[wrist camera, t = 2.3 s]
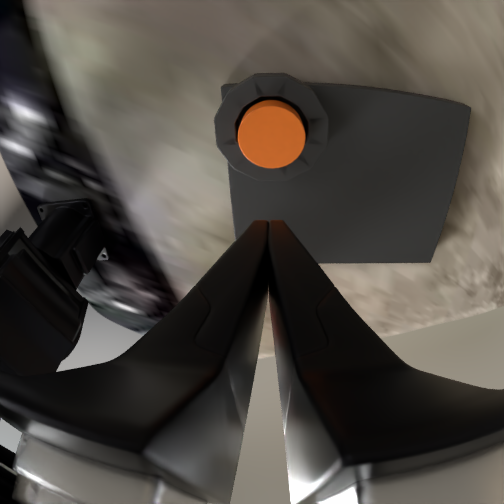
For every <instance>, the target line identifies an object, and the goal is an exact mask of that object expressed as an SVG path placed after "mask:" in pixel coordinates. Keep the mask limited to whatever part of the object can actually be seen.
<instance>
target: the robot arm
mask: <svg viewBox="0 0 504 504" xmlns="http://www.w3.org/2000/svg"><path fill="white" fill-rule="evenodd" d="M85 204H87V206H86V205H85ZM38 211H39V214H40V216H41V218H42V223H41V224H40V225H39V226H38V227H37V228H36V230H35V231H34V232H33V233H32V234H31V235H30V237H29V238H27V236H26V235H25V234H24V231H23V230H22V228H19V229H18V230H17V231H16V232H14V231H13V232H11V231H9V230H6V231H5V232H4V233H3V234H2V235H1V236H0V420H1V418H2V419H3V420H5V421H6V422H8V423H9V424H10V425H12V426H13V427H14V428H16V429H18V430H19V431H20V432H22V435H21V438H20V441H19V445H18V448H17V451H16V454H15V453H14V452H12V451H10V450H8V449H7V448H5V447H3V446H1V445H0V504H207V503H213V504H230V500H231V495H232V490H233V485H234V480H235V475H236V471H237V466H238V460H239V455H240V450H241V445H242V440H243V432H244V428H245V424H246V419H247V413H248V407H249V403H250V397H251V391H252V386H253V381H254V375H255V369H256V364H257V358H258V352H259V347H260V341H261V335H262V329H263V323H264V317H265V311H266V305H267V299H268V286H269V303H270V311H271V320H272V329H273V337H274V346H275V355H276V364H277V373H278V382H279V391H280V400H281V409H282V418H283V428H284V438H285V448H286V457H287V467H288V476H289V487H290V498H291V504H504V389H502V390H495V389H486V388H481V387H477V386H473V385H469V384H466V383H462V382H459V381H455V380H451V379H448V378H444V377H441V376H437V375H434V374H430V373H427V372H423V371H420V370H417V369H415V368H413V367H411V366H409V365H408V364H406V363H405V362H404V361H402V360H401V359H400V358H399V357H398V356H397V355H396V354H395V353H394V352H393V351H392V350H391V349H390V348H389V347H388V346H387V345H386V344H385V343H384V342H383V341H382V340H381V338H380V337H379V336H378V335H377V334H376V333H375V332H374V331H373V330H372V329H371V328H370V327H369V326H368V325H367V324H366V323H365V322H364V321H363V320H362V318H361V317H360V316H359V315H358V314H357V313H356V312H355V311H354V310H353V309H352V307H351V306H350V305H349V304H348V302H347V301H346V300H345V299H344V297H343V296H342V295H341V294H340V292H339V291H338V289H337V288H336V287H334V284H333V283H332V282H331V280H330V279H329V278H328V276H327V275H326V274H325V273H324V271H323V270H322V269H321V267H320V266H319V265H318V263H317V262H316V261H315V260H314V258H313V257H312V256H311V254H310V253H309V252H308V251H307V249H306V248H305V247H304V246H303V244H302V243H301V242H300V240H299V239H298V238H297V237H296V235H295V234H294V233H293V232H292V230H291V229H290V228H289V227H288V225H287V224H286V223H285V222H284V221H283V220H270V221H269V222H268V221H267V220H254V221H253V222H252V223H251V224H250V225H249V226H248V227H247V228H246V230H245V231H244V232H243V233H242V234H241V235H240V236H239V237H238V238H237V239H236V241H235V242H234V243H233V244H232V245H231V246H230V247H229V248H228V249H227V251H226V252H225V253H224V254H223V255H222V256H221V257H220V258H219V259H218V260H217V262H216V263H215V264H214V265H213V266H212V267H211V268H210V269H209V270H208V272H207V273H206V274H205V275H204V276H203V277H202V278H201V279H200V281H199V282H198V283H197V284H196V286H194V287H193V288H192V289H191V290H190V292H189V293H188V294H187V295H186V296H185V297H184V298H183V299H182V300H181V301H180V302H179V303H178V304H177V305H176V307H174V308H173V309H172V310H171V311H170V312H169V313H168V314H167V315H166V316H165V317H164V318H163V319H162V320H161V321H159V322H158V323H157V324H156V325H155V326H154V327H153V328H152V329H150V330H149V331H148V332H147V333H146V334H145V335H144V336H143V337H142V338H141V339H139V340H138V341H137V342H136V343H135V344H134V345H133V346H132V347H130V348H129V349H128V350H127V351H126V352H125V353H123V354H121V355H120V356H118V357H117V358H115V359H113V360H111V361H108V362H105V363H101V364H96V365H91V366H86V367H81V368H76V369H70V370H65V371H59V372H56V370H57V368H58V367H59V365H60V363H61V361H62V360H64V359H65V358H66V357H68V355H69V354H70V353H71V352H72V350H73V349H74V348H75V346H76V344H77V343H78V340H79V338H80V334H81V331H82V326H83V322H84V318H85V314H86V310H87V306H88V303H89V301H88V300H87V299H85V298H84V297H82V296H81V295H80V294H79V293H78V292H77V291H76V289H77V288H78V286H79V284H80V282H81V281H82V279H83V277H84V276H85V275H87V274H88V273H89V272H90V270H91V268H92V267H93V265H94V263H95V262H96V260H107V259H108V258H109V257H110V252H109V250H108V247H107V244H106V242H105V239H104V236H103V234H102V231H101V228H100V225H99V223H98V220H97V217H96V214H95V211H94V209H93V206H92V203H91V201H90V200H89V199H86V198H84V199H75V200H65V201H57V202H48V203H41V204H40V205H39V206H38Z"/></svg>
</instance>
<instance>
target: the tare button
mask: <svg viewBox="0 0 504 504" xmlns="http://www.w3.org/2000/svg"><path fill="white" fill-rule="evenodd" d="M305 139H306V136H305V130H304V127H303V123H302V121H301V118H300V116H299V114H298V113H297V111H296V110H295V109H294V108H292V107H291V106H290V105H288V104H286V103H284V102H281V101H277V100H265V101H261V102H258V103H256V104H255V105H253V106H252V107H250V108H249V109H248V110H247V112H246V113H245V115H244V116H243V119H242V121H241V124H240V127H239V130H238V143H239V147H240V149H241V151H242V153H243V154H244V155H245V157H246V158H247V159H248V160H250V161H251V162H252V163H254V164H256V165H258V166H261V167H265V168H279V167H283V166H286V165H288V164H290V163H292V162H293V161H294V160H296V159H297V158H298V156H299V155H300V154H301V152H302V150H303V148H304V145H305Z"/></svg>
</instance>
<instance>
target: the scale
mask: <svg viewBox="0 0 504 504" xmlns="http://www.w3.org/2000/svg"><path fill="white" fill-rule="evenodd" d="M221 95H222V104H221V106H220V108H219V110H218V112H217V114H216V116H215V118H214V124H215V134H216V143H217V147H218V149H219V150H220V151H221V153H222V154H223V155H224V157H225V158H226V160H227V162H228V173H229V183H230V193H231V204H232V214H233V224H234V234H235V241H236V239H237V238H238V237H239V236H240V235H241V234H242V233H243V232H244V231H245V230H246V228H247V227H248V226H249V225H250V224H251V223H252V222H253V221H254V220H267V221H268V222H269V221H270V220H283V221H284V222H285V223H286V224H287V225H288V227H289V228H290V229H291V230H292V232H293V233H294V234H295V235H296V237H297V238H298V239H299V240H300V242H301V243H302V244H303V246H304V247H305V248H306V249H307V251H308V252H309V253H310V254H311V256H312V257H313V258H314V260H315V261H316V262H317V263H430V262H431V260H432V257H433V254H434V252H435V249H436V246H437V243H438V240H439V237H440V234H441V231H442V228H443V225H444V222H445V219H446V216H447V213H448V209H449V206H450V203H451V199H452V195H453V192H454V188H455V184H456V181H457V177H458V173H459V168H460V164H461V160H462V155H463V151H464V146H465V141H466V136H467V130H468V125H469V119H470V112H471V107H469V106H467V105H465V104H463V103H460V102H455V101H451V100H447V99H442V98H437V97H432V96H427V95H422V94H416V93H410V92H404V91H398V90H391V89H383V88H375V87H366V86H356V85H344V84H329V83H306V82H301V81H299V80H297V79H295V78H294V77H292V76H290V75H288V74H286V73H257V74H254V75H252V76H250V77H249V78H247V79H245V80H244V81H242V82H240V83H236V84H224V85H223V86H222V87H221ZM265 100H277V101H281V102H284V103H286V104H288V105H290V106H291V107H292V108H294V109H295V110H296V111H297V113H298V114H299V116H300V118H301V121H302V123H303V127H304V130H305V136H306V139H305V145H304V148H303V150H302V152H301V154H300V155H299V156H298V158H297V159H296V160H294V161H293V162H292V163H290V164H288V165H286V166H283V167H279V168H265V167H261V166H258V165H256V164H254V163H252V162H251V161H250V160H248V159H247V158H246V157H245V155H244V154H243V153H242V151H241V149H240V147H239V143H238V130H239V127H240V124H241V121H242V119H243V116H244V115H245V113H246V112H247V110H248V109H249V108H250V107H252V106H253V105H255V104H256V103H258V102H261V101H265Z"/></svg>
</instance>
